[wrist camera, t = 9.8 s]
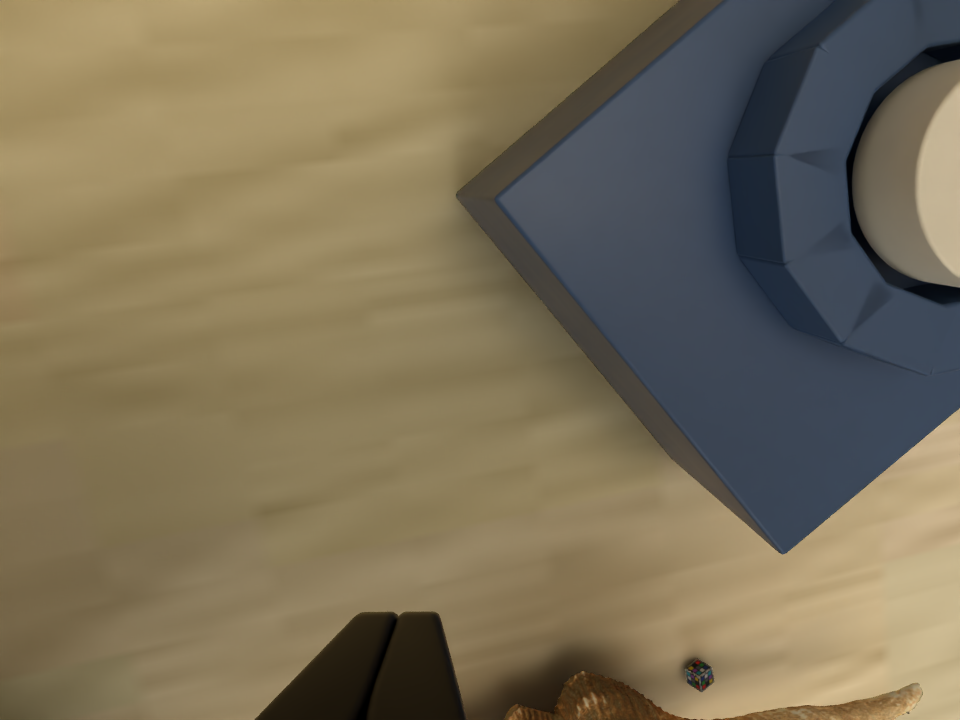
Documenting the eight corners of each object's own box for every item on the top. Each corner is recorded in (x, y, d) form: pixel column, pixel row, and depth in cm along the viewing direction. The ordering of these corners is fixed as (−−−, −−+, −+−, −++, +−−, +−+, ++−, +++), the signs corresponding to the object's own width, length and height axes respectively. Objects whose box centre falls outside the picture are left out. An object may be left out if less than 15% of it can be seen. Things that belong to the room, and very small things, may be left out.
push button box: (672, 460, 23) (832, 600, 15) (453, 194, 21) (510, 200, 13) (1024, 163, 23) (1371, 151, 15) (838, -137, 21) (1130, -334, 13)
